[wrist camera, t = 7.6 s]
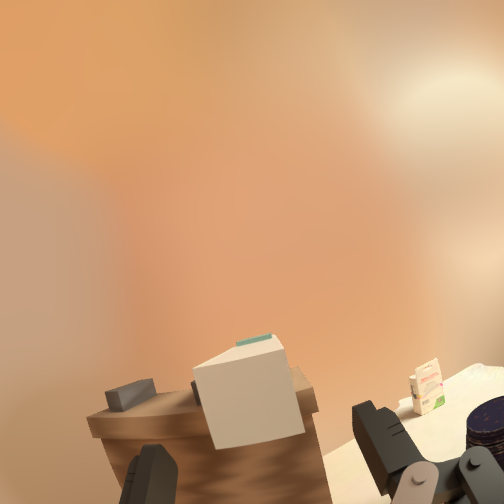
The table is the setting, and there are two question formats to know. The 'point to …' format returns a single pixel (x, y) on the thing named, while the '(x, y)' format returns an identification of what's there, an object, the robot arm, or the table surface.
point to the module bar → (249, 394)
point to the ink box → (427, 388)
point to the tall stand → (213, 448)
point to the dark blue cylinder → (488, 428)
